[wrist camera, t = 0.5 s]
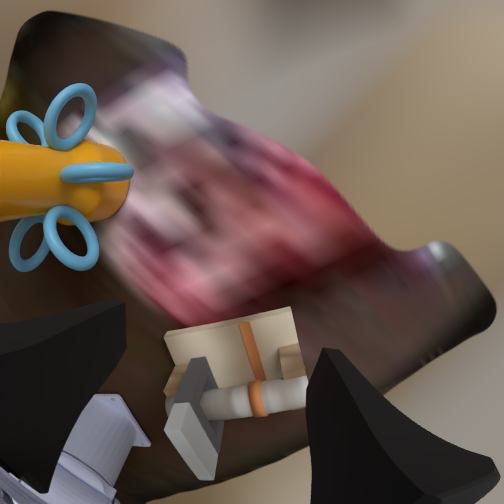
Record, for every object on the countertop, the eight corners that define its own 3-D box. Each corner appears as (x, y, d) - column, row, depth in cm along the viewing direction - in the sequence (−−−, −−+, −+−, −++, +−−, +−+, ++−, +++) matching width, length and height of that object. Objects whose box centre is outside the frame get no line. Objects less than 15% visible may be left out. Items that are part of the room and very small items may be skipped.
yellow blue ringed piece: (190, 209, 19) (35, 245, 5) (94, 279, 21) (-42, 363, 6) (118, 87, 18) (-11, 6, 3) (38, 165, 19) (-94, 163, 4)
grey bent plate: (213, 408, 21) (198, 480, 13) (190, 358, 20) (162, 430, 12) (226, 407, 21) (215, 479, 13) (205, 356, 20) (182, 429, 12)
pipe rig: (202, 411, 23) (191, 456, 17) (167, 331, 21) (141, 370, 16) (308, 393, 22) (319, 440, 16) (290, 306, 21) (300, 344, 15)
